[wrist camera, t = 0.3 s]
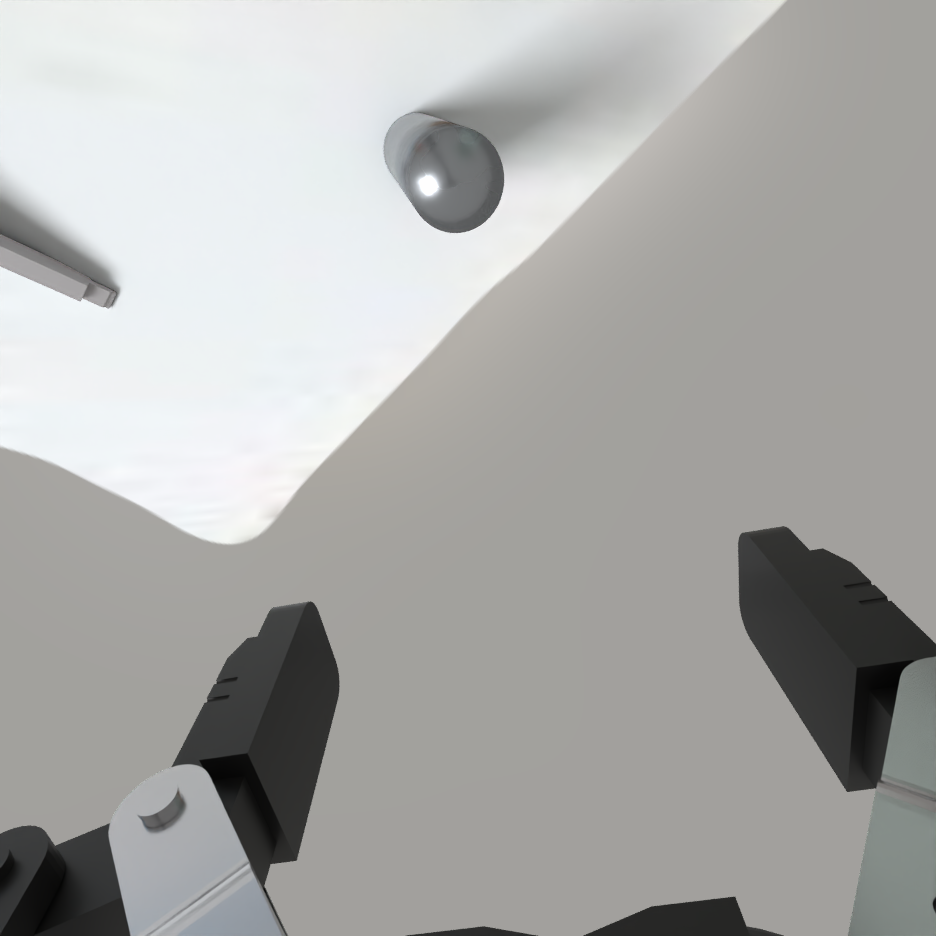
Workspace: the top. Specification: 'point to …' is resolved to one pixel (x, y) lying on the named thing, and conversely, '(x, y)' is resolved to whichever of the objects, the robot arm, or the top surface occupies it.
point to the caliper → (52, 273)
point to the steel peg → (444, 171)
